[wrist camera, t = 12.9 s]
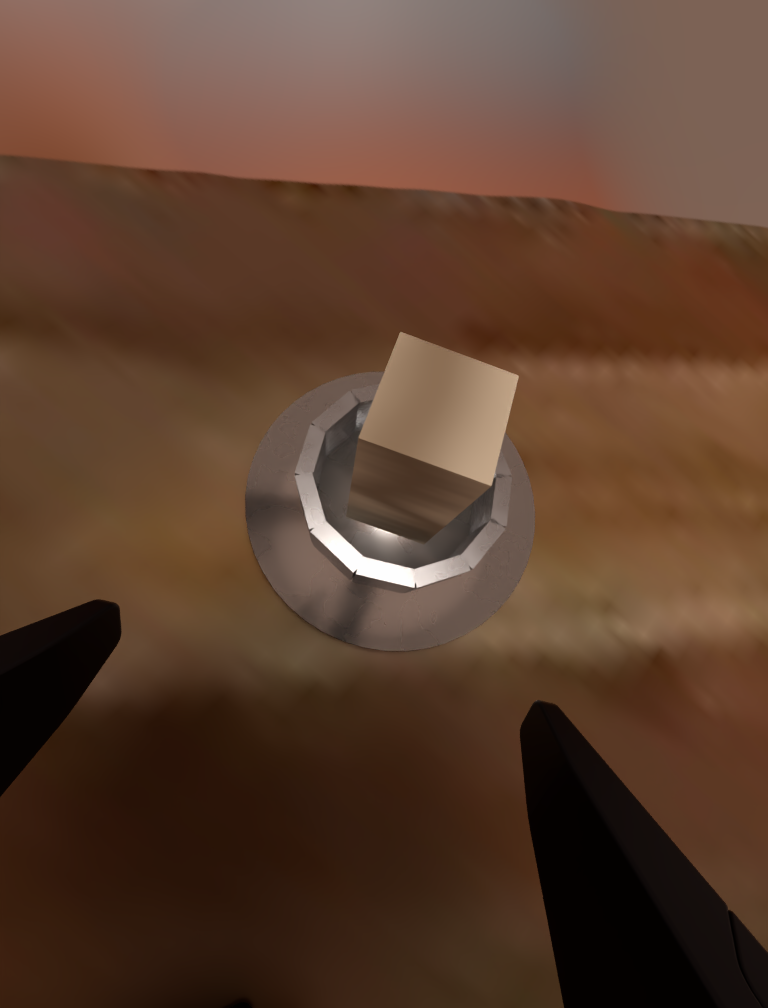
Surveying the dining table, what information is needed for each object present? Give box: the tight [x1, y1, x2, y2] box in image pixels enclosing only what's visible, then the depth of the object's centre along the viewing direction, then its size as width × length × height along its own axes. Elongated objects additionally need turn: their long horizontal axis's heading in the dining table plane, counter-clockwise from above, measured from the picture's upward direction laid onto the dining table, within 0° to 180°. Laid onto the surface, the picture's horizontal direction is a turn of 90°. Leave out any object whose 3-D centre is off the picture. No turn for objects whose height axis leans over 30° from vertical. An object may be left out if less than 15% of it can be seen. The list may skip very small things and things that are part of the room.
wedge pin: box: [346, 332, 519, 544], centre depth 17 cm, size 4×4×9 cm
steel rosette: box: [245, 372, 535, 651], centre depth 20 cm, size 16×16×4 cm
